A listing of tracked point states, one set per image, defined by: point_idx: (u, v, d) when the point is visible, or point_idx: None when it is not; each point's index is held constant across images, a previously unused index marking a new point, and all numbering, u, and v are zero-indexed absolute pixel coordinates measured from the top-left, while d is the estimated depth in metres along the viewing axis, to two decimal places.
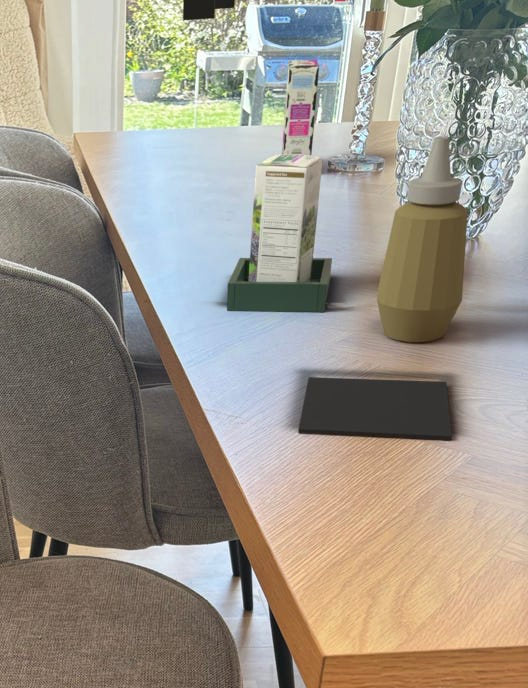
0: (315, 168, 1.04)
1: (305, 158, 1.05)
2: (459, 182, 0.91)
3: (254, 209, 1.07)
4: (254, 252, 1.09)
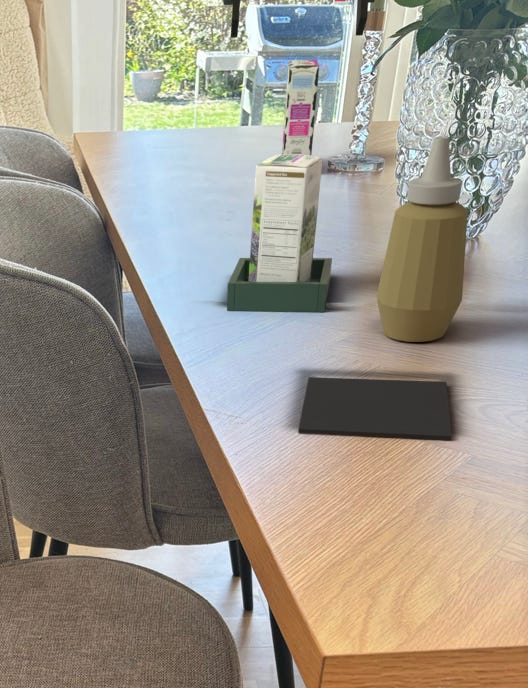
0: (315, 168, 1.04)
1: (305, 158, 1.05)
2: (459, 182, 0.91)
3: (254, 209, 1.07)
4: (254, 252, 1.09)
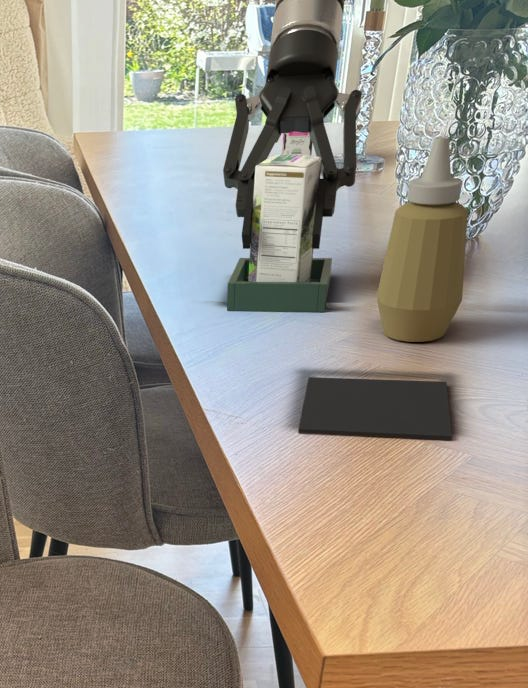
0: (315, 167, 1.04)
1: (304, 158, 1.05)
2: (459, 182, 0.91)
3: (253, 209, 1.07)
4: (254, 252, 1.09)
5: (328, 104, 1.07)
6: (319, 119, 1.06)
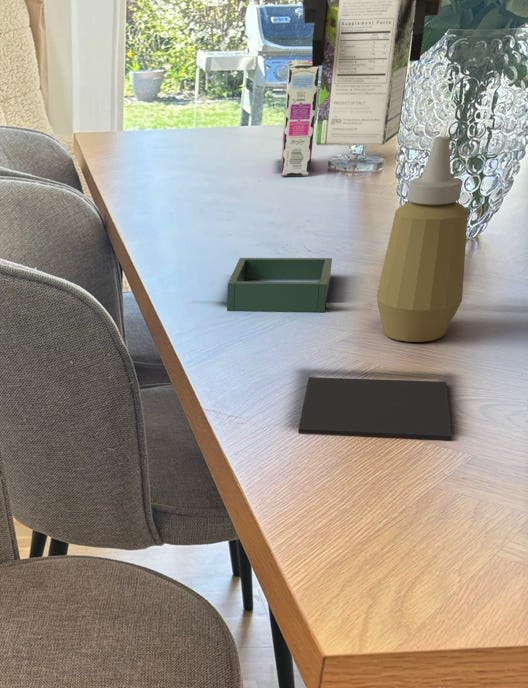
0: None
1: None
2: (459, 182, 0.91)
3: (329, 6, 0.77)
4: (328, 71, 0.80)
5: None
6: None
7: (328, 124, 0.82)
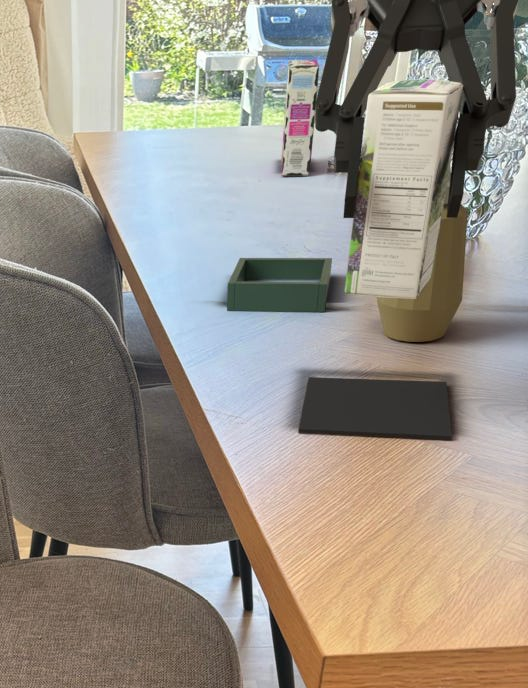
0: (456, 97, 0.71)
1: (439, 83, 0.71)
2: None
3: (362, 160, 0.73)
4: (359, 223, 0.76)
5: (470, 7, 0.74)
6: (459, 28, 0.73)
7: (359, 275, 0.78)
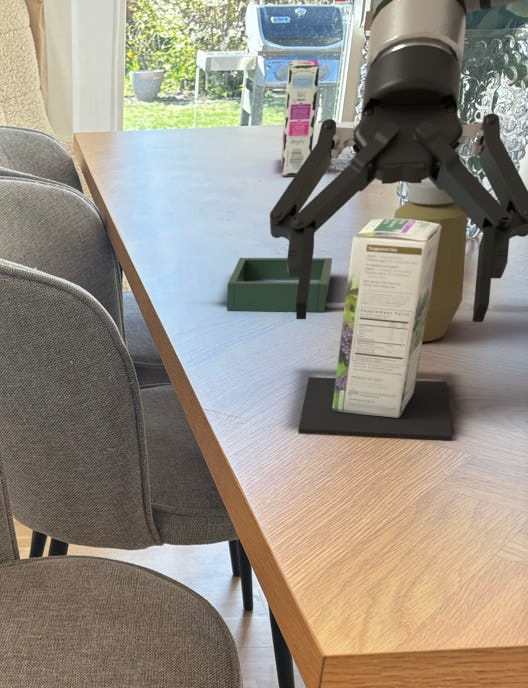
0: (434, 240, 0.76)
1: (419, 226, 0.77)
2: None
3: (348, 294, 0.79)
4: (346, 349, 0.81)
5: (450, 146, 0.79)
6: (454, 159, 0.78)
7: (346, 394, 0.83)
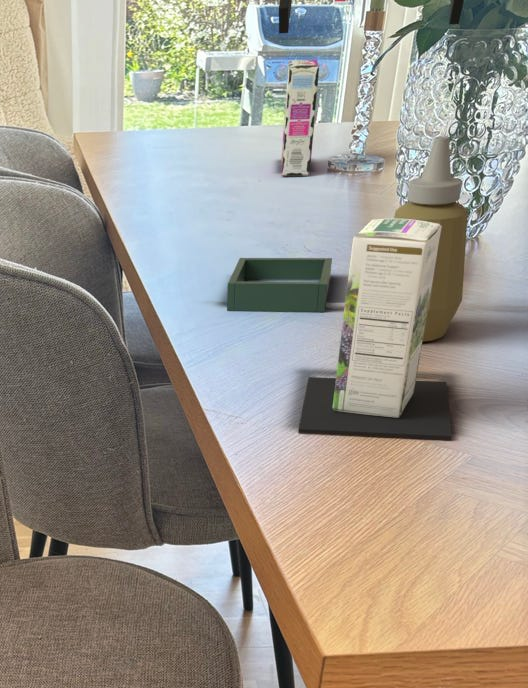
0: (434, 239, 0.76)
1: (419, 226, 0.77)
2: (459, 182, 0.91)
3: (348, 294, 0.79)
4: (346, 349, 0.81)
5: None
6: None
7: (346, 394, 0.83)
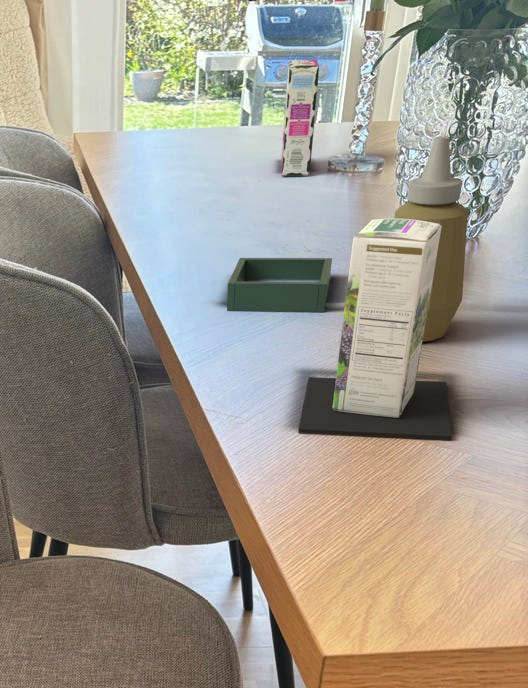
0: (435, 239, 0.76)
1: (419, 226, 0.77)
2: (459, 182, 0.91)
3: (348, 293, 0.79)
4: (346, 349, 0.81)
5: None
6: None
7: (346, 394, 0.83)
